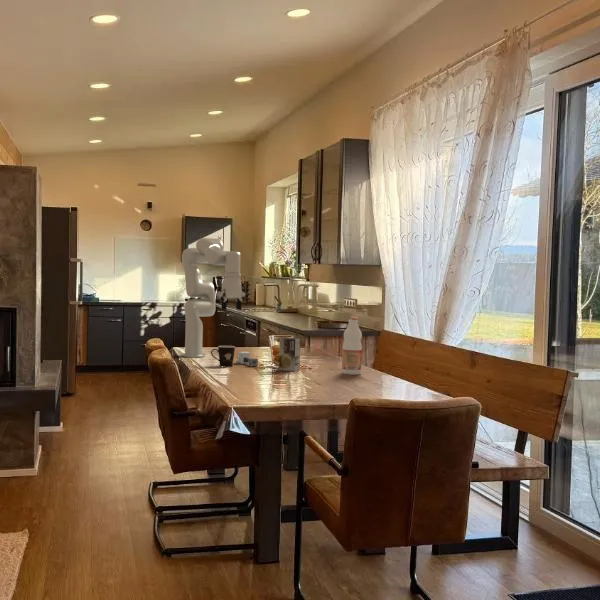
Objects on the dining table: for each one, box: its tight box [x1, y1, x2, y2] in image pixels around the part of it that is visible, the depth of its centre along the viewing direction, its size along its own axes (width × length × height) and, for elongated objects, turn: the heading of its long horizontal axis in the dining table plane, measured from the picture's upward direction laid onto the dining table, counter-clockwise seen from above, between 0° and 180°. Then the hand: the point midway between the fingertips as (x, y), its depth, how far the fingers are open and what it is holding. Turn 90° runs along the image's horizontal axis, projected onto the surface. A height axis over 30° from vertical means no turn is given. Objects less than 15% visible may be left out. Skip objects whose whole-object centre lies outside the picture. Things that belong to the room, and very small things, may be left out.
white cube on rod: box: [237, 351, 251, 365], centre depth 379 cm, size 4×4×6 cm
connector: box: [248, 357, 259, 367], centre depth 370 cm, size 2×4×4 cm, turn 121°
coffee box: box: [278, 336, 301, 372], centre depth 362 cm, size 9×6×16 cm
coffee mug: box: [210, 345, 236, 368], centre depth 368 cm, size 12×9×10 cm
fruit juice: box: [341, 316, 363, 376], centre depth 357 cm, size 9×9×28 cm
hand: (231, 309), depth 366 cm, fingers open, 9 cm apart
